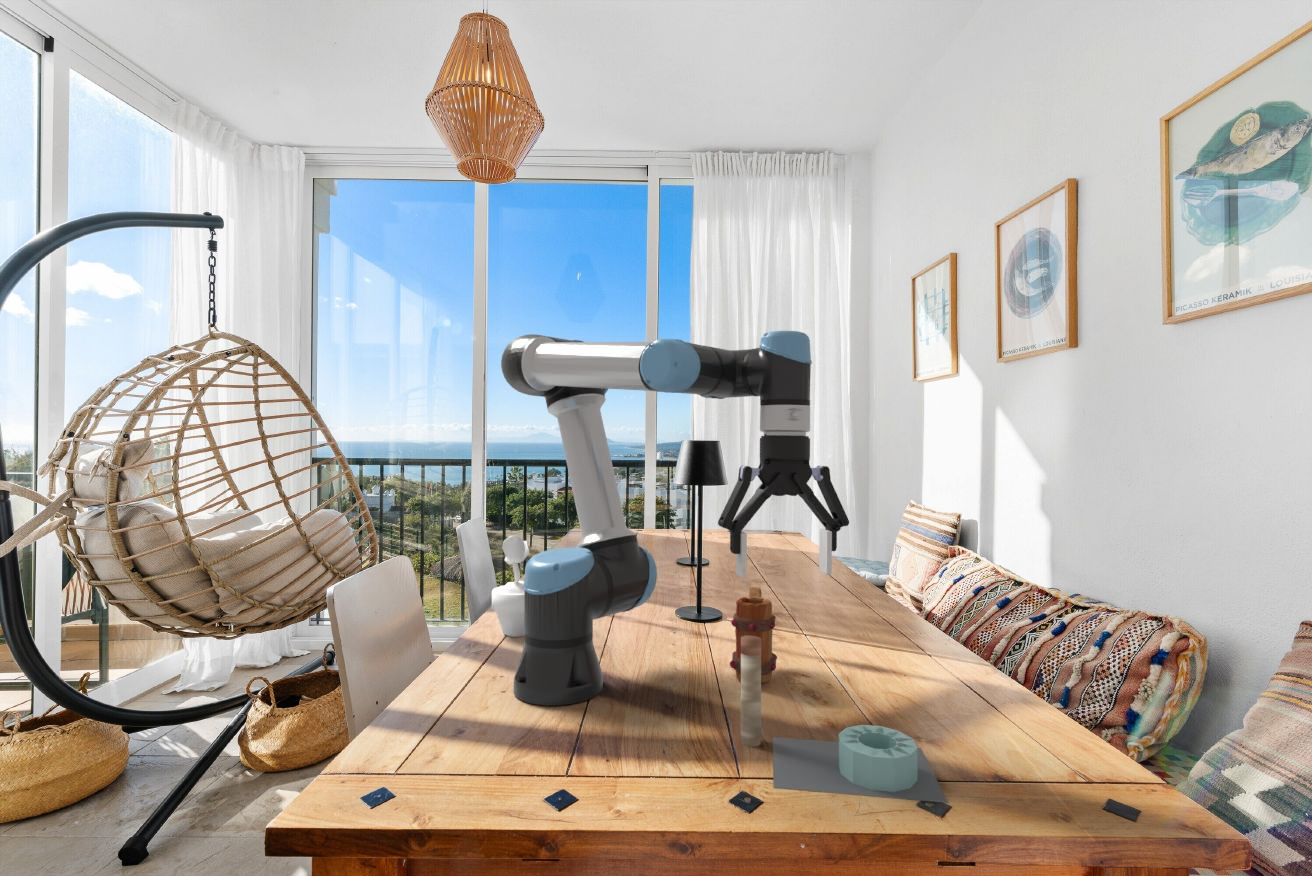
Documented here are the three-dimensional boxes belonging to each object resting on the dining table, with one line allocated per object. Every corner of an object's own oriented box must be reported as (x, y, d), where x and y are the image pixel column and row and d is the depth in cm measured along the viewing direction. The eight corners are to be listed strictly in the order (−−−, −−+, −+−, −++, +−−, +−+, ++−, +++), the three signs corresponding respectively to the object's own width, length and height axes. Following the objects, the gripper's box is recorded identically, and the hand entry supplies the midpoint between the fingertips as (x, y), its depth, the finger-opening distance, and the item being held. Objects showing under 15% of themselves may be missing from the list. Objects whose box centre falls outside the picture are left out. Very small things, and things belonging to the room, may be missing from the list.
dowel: (740, 749, 92) (740, 640, 92) (741, 740, 94) (741, 635, 94) (760, 751, 91) (761, 641, 91) (761, 742, 94) (761, 636, 94)
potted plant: (534, 642, 141) (535, 524, 141) (482, 639, 142) (483, 523, 142) (553, 626, 153) (553, 517, 153) (505, 623, 155) (505, 516, 155)
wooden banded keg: (776, 691, 113) (776, 602, 114) (728, 687, 115) (728, 600, 115) (778, 663, 128) (778, 584, 128) (735, 660, 129) (735, 582, 129)
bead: (843, 787, 80) (843, 754, 80) (835, 752, 90) (835, 723, 90) (923, 794, 79) (923, 760, 79) (907, 758, 88) (907, 727, 88)
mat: (773, 792, 80) (773, 787, 80) (772, 741, 94) (772, 737, 94) (948, 807, 77) (948, 802, 77) (920, 752, 91) (920, 748, 91)
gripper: (712, 433, 95) (711, 582, 95) (872, 434, 100) (871, 576, 100) (698, 433, 102) (697, 571, 102) (848, 435, 107) (847, 566, 107)
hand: (783, 574), depth 101 cm, fingers open, 13 cm apart
